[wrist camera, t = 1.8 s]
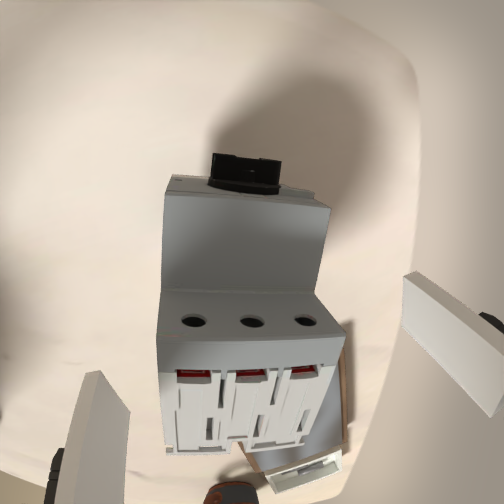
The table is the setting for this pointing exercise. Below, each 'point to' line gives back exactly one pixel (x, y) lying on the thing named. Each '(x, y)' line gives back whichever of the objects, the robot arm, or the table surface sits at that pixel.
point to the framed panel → (313, 428)
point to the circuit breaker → (242, 310)
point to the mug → (232, 494)
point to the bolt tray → (305, 470)
